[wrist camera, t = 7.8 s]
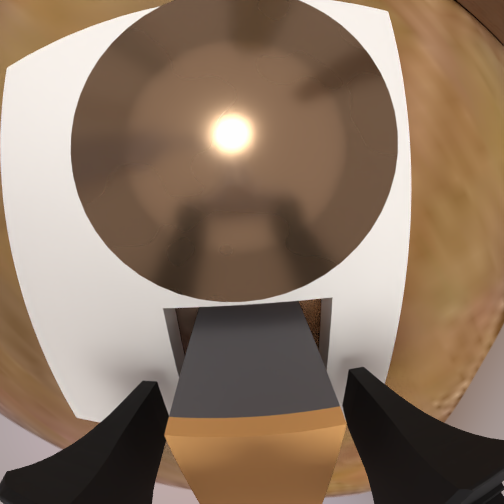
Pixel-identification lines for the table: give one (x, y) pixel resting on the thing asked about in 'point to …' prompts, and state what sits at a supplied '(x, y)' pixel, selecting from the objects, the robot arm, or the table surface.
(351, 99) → the bronze knob
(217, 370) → the grey and orange block
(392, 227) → the notched board
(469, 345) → the table surface
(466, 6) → the wooden block
